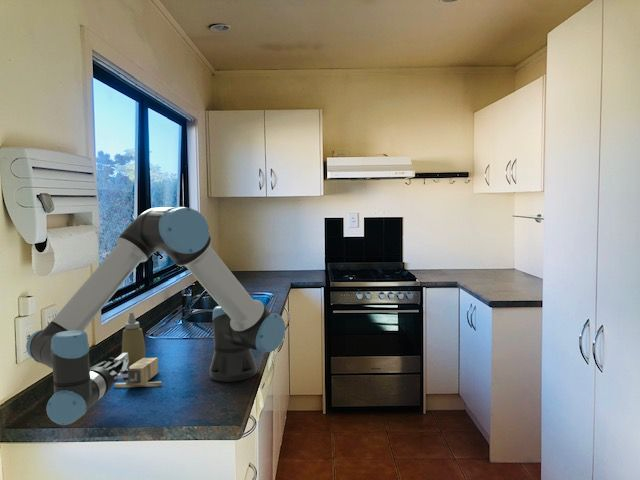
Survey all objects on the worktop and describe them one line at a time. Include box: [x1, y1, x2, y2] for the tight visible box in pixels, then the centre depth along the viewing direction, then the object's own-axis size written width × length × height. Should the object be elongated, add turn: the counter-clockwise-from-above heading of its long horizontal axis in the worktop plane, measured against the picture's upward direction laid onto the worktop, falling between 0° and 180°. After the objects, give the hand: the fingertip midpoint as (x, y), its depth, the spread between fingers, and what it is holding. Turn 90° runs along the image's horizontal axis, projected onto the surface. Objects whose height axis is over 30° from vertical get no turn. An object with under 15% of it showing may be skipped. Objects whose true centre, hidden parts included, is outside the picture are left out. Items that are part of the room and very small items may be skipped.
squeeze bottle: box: [121, 312, 147, 366], centre depth 182 cm, size 8×8×18 cm
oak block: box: [125, 357, 159, 386], centre depth 164 cm, size 5×5×16 cm
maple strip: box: [113, 381, 163, 389], centre depth 159 cm, size 14×1×1 cm, turn 92°
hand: (125, 357), depth 150 cm, fingers closed
